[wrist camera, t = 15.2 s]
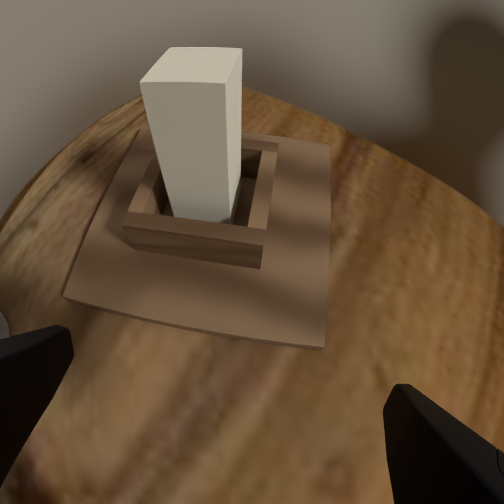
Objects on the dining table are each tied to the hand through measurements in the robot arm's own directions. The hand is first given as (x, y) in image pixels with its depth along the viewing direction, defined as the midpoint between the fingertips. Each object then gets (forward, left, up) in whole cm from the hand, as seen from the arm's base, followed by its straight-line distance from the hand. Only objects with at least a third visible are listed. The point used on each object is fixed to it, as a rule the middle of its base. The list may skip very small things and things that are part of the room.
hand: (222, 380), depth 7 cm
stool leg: (+2, +15, -13) cm, 20 cm away
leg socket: (+2, +15, -14) cm, 20 cm away
